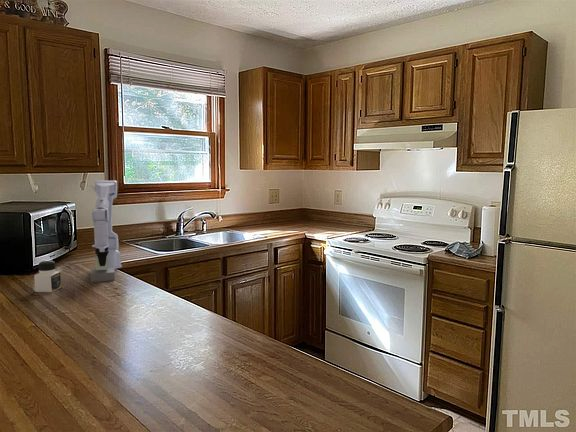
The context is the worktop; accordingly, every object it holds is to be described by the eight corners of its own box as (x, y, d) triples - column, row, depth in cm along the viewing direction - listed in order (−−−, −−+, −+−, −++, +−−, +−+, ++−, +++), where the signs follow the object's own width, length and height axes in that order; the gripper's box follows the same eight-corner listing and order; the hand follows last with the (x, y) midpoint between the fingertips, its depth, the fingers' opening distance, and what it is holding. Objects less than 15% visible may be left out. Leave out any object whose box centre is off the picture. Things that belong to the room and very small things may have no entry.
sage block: (95, 267, 202) (95, 256, 202) (107, 266, 204) (107, 255, 204) (95, 269, 198) (95, 259, 197) (107, 268, 200) (107, 258, 199)
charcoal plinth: (91, 277, 205) (91, 268, 204) (114, 275, 208) (114, 267, 208) (90, 282, 196) (90, 274, 195) (114, 280, 199) (114, 272, 199)
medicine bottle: (52, 292, 180) (50, 263, 178) (34, 292, 180) (33, 263, 178) (61, 287, 187) (59, 259, 185) (44, 287, 187) (43, 259, 185)
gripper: (91, 233, 205) (92, 261, 206) (91, 238, 191) (92, 268, 193) (108, 232, 207) (109, 260, 209) (109, 237, 194) (110, 267, 196)
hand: (102, 264), depth 201 cm, fingers closed on sage block, 5 cm apart
